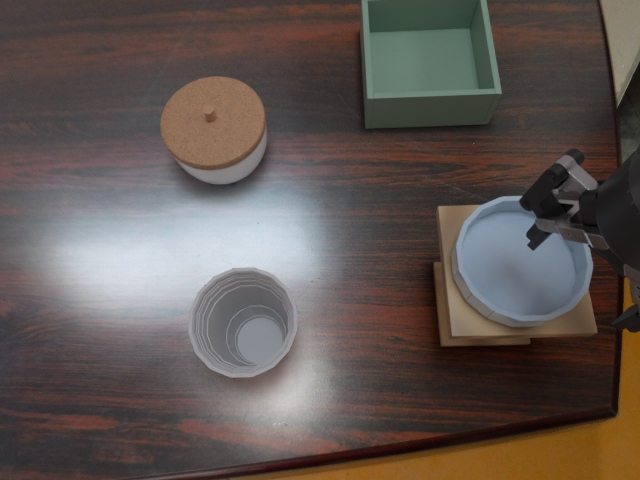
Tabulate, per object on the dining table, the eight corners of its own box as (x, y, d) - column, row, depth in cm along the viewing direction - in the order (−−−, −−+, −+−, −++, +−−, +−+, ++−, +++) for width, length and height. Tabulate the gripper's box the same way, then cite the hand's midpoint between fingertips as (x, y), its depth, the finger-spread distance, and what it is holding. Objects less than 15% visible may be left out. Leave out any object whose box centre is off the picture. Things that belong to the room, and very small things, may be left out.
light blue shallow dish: (565, 207, 52) (578, 193, 50) (589, 326, 48) (605, 319, 45) (444, 211, 53) (450, 197, 50) (457, 329, 49) (464, 322, 46)
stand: (525, 250, 66) (570, 201, 53) (543, 357, 61) (598, 333, 48) (419, 253, 66) (437, 205, 53) (428, 360, 61) (451, 336, 48)
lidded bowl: (177, 201, 70) (148, 159, 60) (184, 119, 75) (159, 66, 64) (273, 198, 70) (261, 155, 59) (274, 116, 74) (263, 62, 64)
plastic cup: (203, 380, 62) (172, 366, 50) (226, 291, 65) (202, 258, 54) (296, 397, 60) (285, 386, 49) (313, 305, 64) (307, 275, 53)
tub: (473, 27, 78) (484, -10, 72) (488, 124, 72) (502, 93, 66) (359, 32, 79) (361, -4, 73) (365, 129, 73) (367, 98, 67)
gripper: (883, 238, 26) (684, 315, 41) (640, 61, 30) (541, 190, 45) (792, 339, 24) (621, 381, 39) (549, 137, 29) (479, 244, 44)
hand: (578, 279), depth 42 cm, fingers open, 8 cm apart
